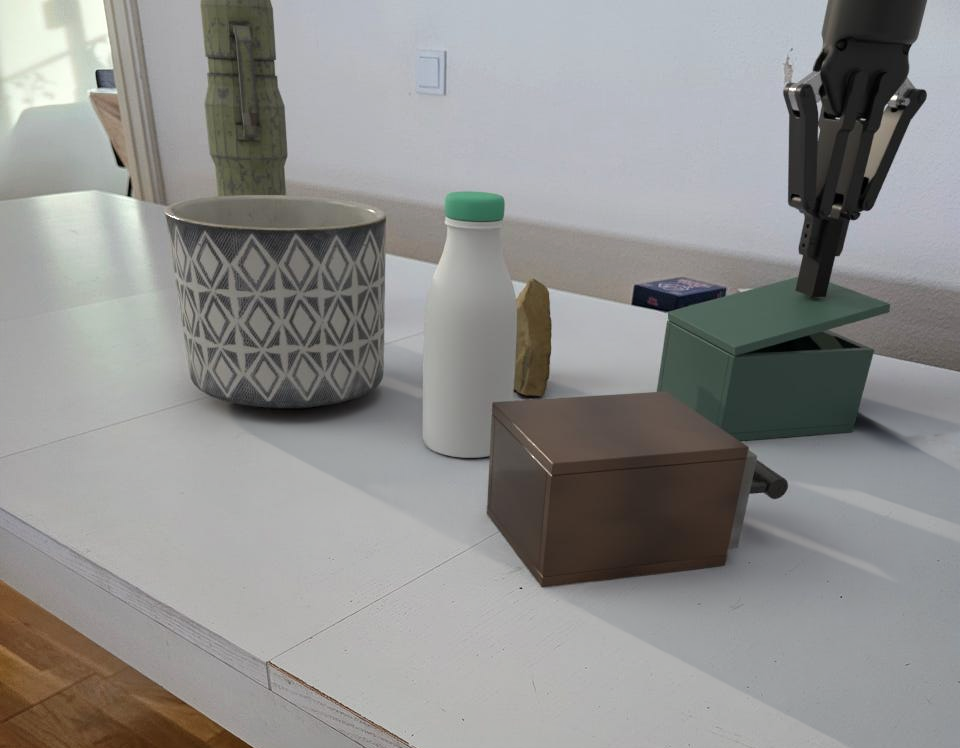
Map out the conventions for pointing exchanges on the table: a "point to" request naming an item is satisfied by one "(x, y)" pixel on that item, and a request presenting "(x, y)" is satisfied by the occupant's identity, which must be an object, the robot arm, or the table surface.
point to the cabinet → (612, 486)
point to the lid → (774, 315)
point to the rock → (533, 340)
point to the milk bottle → (468, 329)
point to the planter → (280, 297)
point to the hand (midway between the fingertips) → (810, 293)
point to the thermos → (244, 98)
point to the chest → (768, 383)
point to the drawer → (755, 491)
